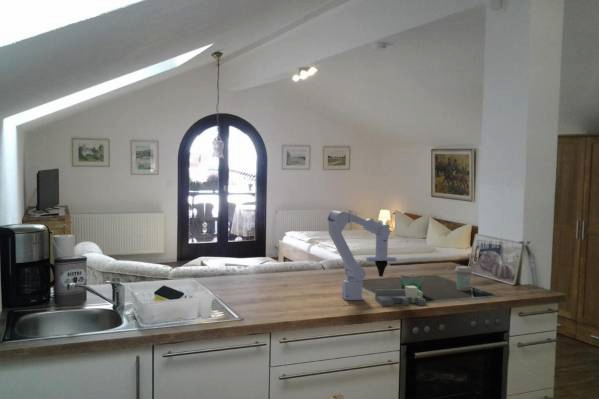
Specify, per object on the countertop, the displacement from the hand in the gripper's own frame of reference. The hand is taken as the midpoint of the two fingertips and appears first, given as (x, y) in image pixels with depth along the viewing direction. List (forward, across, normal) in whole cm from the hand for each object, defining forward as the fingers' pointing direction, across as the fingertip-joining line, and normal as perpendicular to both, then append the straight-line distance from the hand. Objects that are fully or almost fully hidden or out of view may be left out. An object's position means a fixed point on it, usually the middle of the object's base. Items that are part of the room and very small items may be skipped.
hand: (380, 276), depth 276 cm
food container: (+10, +17, 0) cm, 20 cm away
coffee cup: (+10, +48, +11) cm, 50 cm away
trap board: (+10, +6, -13) cm, 17 cm away
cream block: (+8, +12, -11) cm, 18 cm away
